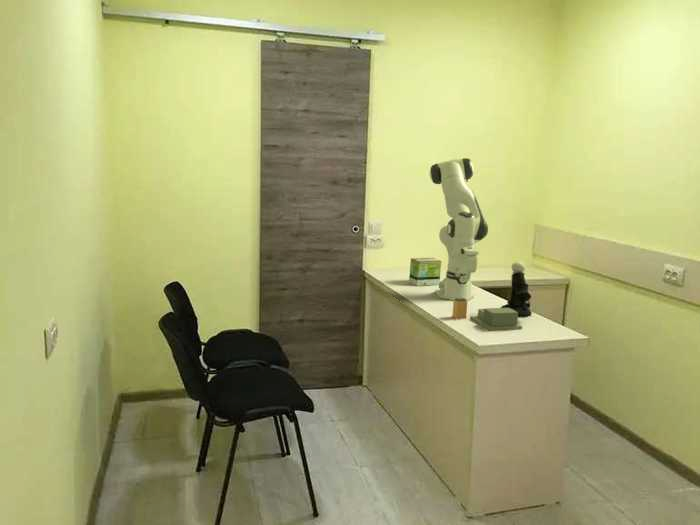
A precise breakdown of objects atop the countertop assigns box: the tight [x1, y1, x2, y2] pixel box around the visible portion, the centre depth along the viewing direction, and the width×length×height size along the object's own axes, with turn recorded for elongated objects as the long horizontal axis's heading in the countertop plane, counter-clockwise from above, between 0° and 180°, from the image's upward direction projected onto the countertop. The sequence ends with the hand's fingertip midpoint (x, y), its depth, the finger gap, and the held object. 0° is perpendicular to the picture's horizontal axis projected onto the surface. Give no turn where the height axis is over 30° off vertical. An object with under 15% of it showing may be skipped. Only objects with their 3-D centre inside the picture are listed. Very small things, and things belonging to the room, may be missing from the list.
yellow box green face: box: [452, 298, 468, 319], centre depth 270 cm, size 4×5×9 cm
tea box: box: [408, 257, 442, 287], centre depth 338 cm, size 15×10×15 cm
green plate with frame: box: [469, 307, 523, 331], centre depth 261 cm, size 18×16×7 cm
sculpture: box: [500, 261, 532, 318], centre depth 275 cm, size 15×24×25 cm, turn 179°
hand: (462, 278), depth 267 cm, fingers open, 8 cm apart
